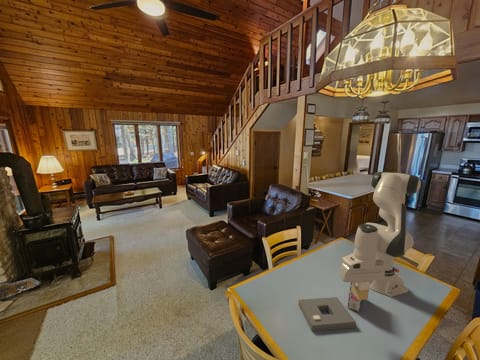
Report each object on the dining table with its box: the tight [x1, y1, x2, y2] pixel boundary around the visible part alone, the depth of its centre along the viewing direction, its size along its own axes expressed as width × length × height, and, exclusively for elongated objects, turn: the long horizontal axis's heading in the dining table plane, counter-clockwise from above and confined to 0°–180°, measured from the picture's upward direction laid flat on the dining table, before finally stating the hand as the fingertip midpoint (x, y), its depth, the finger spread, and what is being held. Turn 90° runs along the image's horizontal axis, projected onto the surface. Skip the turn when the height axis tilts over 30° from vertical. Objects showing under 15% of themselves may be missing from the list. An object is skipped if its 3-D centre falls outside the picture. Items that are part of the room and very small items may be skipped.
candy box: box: [347, 282, 362, 313], centre depth 112 cm, size 14×6×16 cm, turn 148°
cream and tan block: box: [352, 281, 370, 301], centre depth 93 cm, size 4×4×9 cm
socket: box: [298, 296, 357, 332], centre depth 104 cm, size 22×16×4 cm
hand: (360, 287), depth 93 cm, fingers closed on cream and tan block, 4 cm apart
